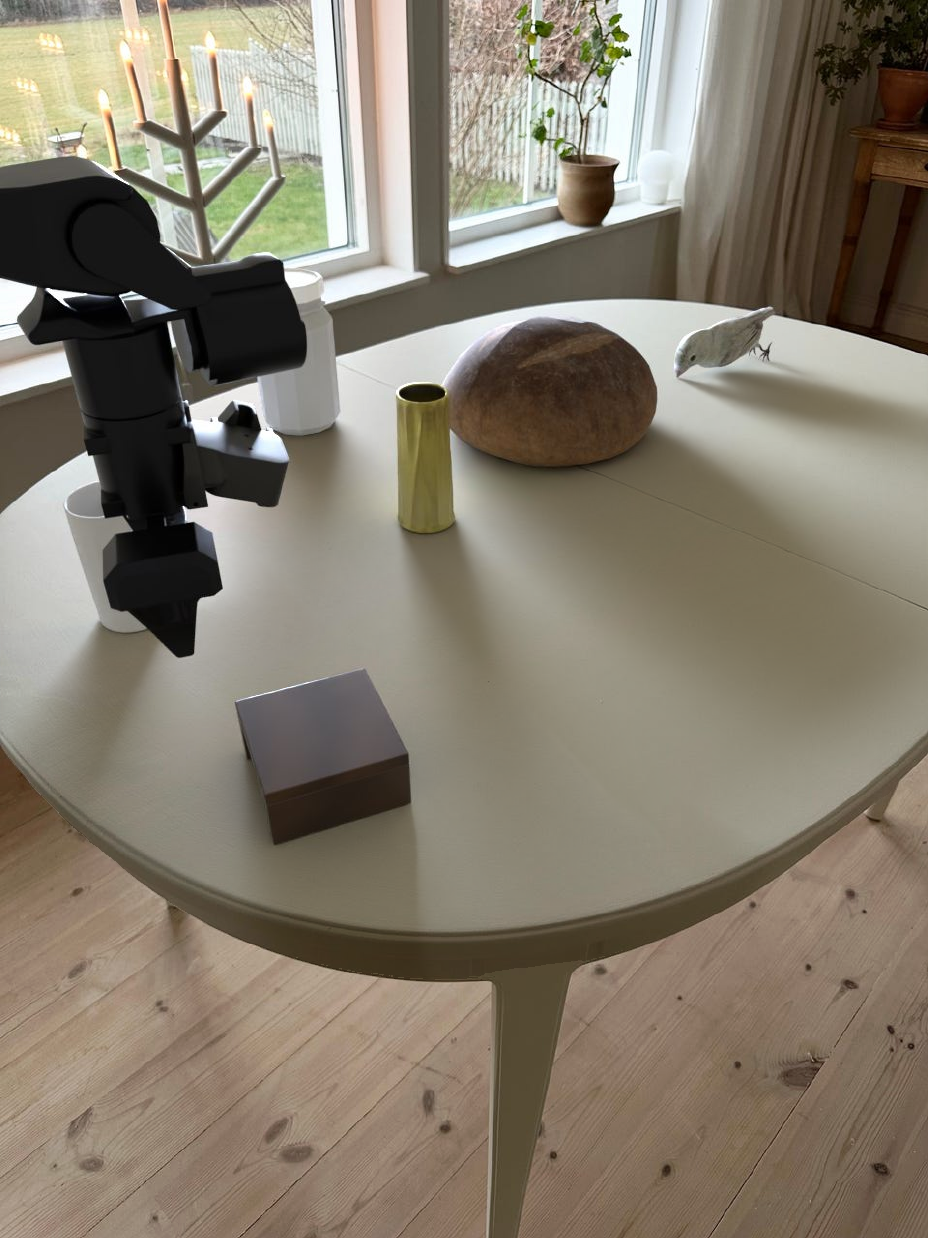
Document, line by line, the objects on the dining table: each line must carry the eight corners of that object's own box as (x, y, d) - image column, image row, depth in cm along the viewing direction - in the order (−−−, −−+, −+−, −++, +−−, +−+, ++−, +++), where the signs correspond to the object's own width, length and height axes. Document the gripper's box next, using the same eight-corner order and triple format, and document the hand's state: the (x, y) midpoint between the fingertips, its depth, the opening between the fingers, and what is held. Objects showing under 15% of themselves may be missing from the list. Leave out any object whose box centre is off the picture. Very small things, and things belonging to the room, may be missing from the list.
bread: (399, 418, 118) (394, 316, 111) (554, 370, 131) (560, 276, 124) (531, 497, 102) (537, 383, 94) (694, 433, 115) (711, 329, 107)
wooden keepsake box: (274, 845, 63) (264, 795, 60) (244, 749, 70) (234, 700, 67) (411, 803, 66) (409, 753, 63) (369, 715, 73) (365, 667, 70)
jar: (250, 418, 119) (229, 275, 108) (317, 400, 123) (303, 260, 113) (286, 445, 112) (267, 296, 102) (355, 424, 117) (344, 279, 106)
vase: (418, 540, 95) (413, 410, 86) (386, 516, 99) (379, 389, 90) (466, 522, 98) (466, 394, 89) (433, 499, 102) (430, 375, 93)
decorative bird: (663, 371, 131) (670, 319, 127) (749, 352, 137) (758, 301, 133) (687, 384, 127) (695, 331, 123) (774, 364, 134) (785, 312, 129)
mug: (185, 617, 84) (159, 501, 77) (113, 645, 81) (79, 527, 74) (142, 569, 90) (114, 458, 83) (74, 593, 87) (39, 479, 80)
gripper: (295, 449, 49) (322, 675, 58) (249, 332, 63) (277, 529, 72) (72, 480, 46) (139, 712, 55) (77, 351, 60) (129, 553, 70)
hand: (180, 615), depth 63 cm, fingers open, 9 cm apart
